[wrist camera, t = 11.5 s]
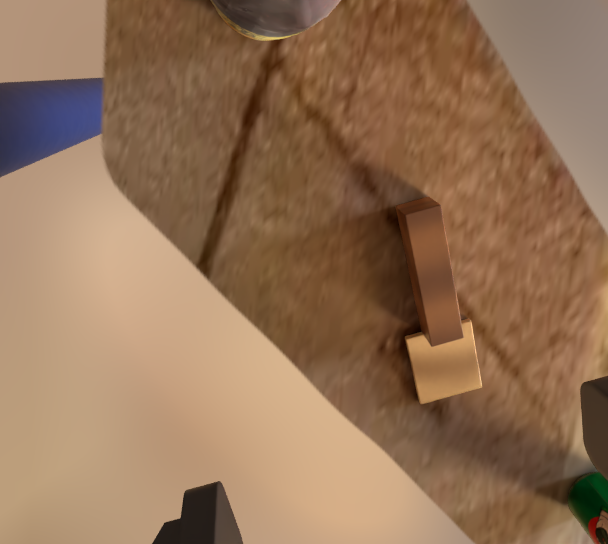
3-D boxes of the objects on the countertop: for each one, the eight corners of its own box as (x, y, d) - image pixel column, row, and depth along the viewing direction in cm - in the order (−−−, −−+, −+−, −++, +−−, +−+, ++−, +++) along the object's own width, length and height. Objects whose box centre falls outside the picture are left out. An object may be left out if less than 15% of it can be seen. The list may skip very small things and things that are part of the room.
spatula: (376, 210, 37) (385, 220, 34) (447, 190, 37) (460, 199, 34) (418, 401, 42) (428, 420, 40) (479, 384, 42) (493, 402, 40)
